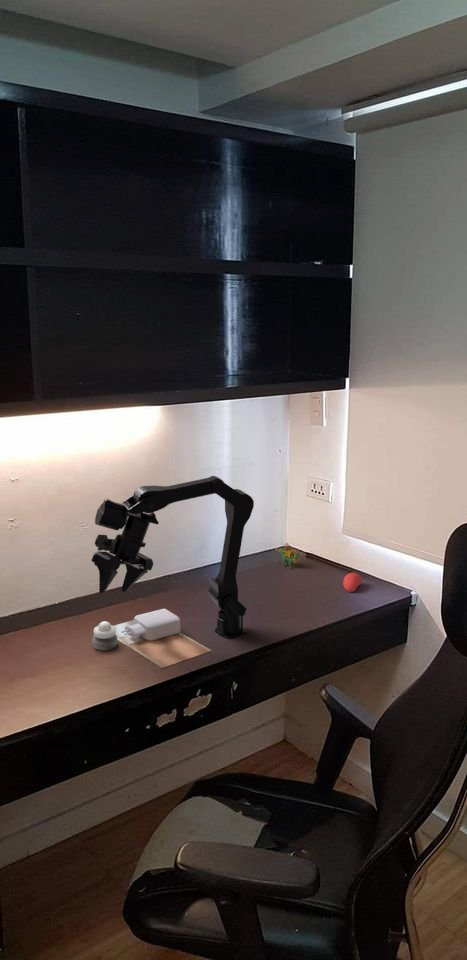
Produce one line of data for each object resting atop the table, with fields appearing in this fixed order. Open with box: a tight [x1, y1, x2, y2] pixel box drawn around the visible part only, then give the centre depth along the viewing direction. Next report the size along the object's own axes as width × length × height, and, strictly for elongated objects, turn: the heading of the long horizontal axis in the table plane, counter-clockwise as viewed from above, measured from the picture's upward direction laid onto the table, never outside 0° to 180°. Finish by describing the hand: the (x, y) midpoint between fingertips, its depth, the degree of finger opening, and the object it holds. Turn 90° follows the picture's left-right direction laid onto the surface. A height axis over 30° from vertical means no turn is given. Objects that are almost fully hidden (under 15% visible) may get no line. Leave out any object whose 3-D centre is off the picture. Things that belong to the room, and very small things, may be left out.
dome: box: [93, 620, 116, 639], centre depth 195 cm, size 6×6×3 cm
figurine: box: [274, 543, 301, 570], centre depth 258 cm, size 3×12×8 cm, turn 42°
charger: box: [121, 608, 181, 641], centre depth 202 cm, size 5×9×15 cm
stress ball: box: [342, 572, 363, 593], centre depth 239 cm, size 5×9×6 cm, turn 142°
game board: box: [92, 619, 213, 669], centre depth 197 cm, size 23×29×2 cm
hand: (112, 592), depth 190 cm, fingers open, 9 cm apart
